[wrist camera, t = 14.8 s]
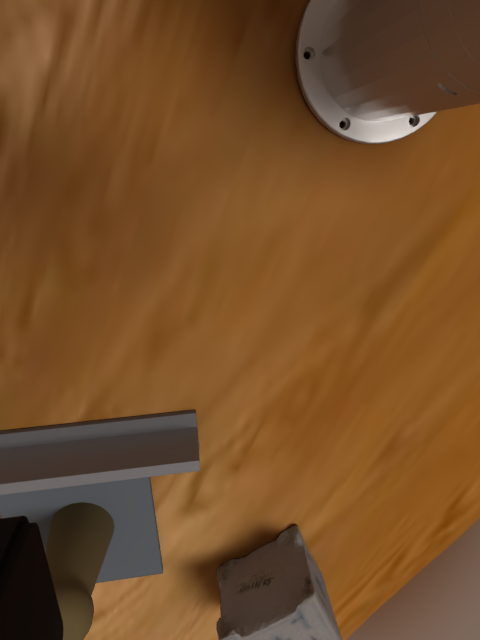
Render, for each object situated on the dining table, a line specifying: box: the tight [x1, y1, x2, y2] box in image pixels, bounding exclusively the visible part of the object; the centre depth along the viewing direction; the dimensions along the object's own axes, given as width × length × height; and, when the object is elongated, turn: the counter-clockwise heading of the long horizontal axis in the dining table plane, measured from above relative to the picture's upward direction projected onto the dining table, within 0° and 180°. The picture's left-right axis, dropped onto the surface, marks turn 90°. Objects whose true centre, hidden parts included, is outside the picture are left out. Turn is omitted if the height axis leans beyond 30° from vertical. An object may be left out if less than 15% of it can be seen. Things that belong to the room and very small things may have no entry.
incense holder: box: [216, 525, 342, 640], centre depth 45 cm, size 10×8×10 cm
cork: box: [45, 502, 115, 640], centre depth 39 cm, size 6×6×11 cm
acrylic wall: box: [0, 410, 200, 495], centre depth 39 cm, size 22×4×6 cm, turn 93°
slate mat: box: [0, 477, 163, 583], centre depth 45 cm, size 14×14×1 cm
